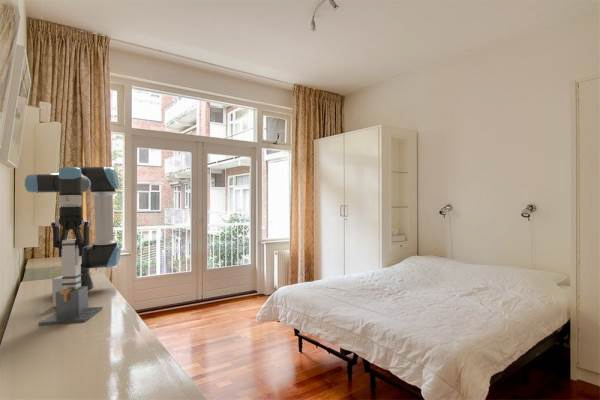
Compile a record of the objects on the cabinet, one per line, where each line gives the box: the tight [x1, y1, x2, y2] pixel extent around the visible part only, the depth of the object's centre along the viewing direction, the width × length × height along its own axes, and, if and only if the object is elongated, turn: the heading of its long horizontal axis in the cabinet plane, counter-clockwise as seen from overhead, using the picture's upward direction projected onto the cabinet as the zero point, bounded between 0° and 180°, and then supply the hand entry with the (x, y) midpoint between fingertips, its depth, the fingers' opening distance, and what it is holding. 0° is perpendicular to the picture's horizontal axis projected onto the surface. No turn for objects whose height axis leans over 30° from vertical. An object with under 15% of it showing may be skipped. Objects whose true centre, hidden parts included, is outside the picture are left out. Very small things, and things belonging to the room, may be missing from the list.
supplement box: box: [51, 275, 63, 308], centre depth 153 cm, size 7×7×13 cm
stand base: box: [38, 286, 103, 326], centre depth 136 cm, size 16×16×12 cm
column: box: [61, 238, 82, 290], centre depth 136 cm, size 5×5×22 cm
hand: (71, 264), depth 136 cm, fingers closed on column, 4 cm apart
